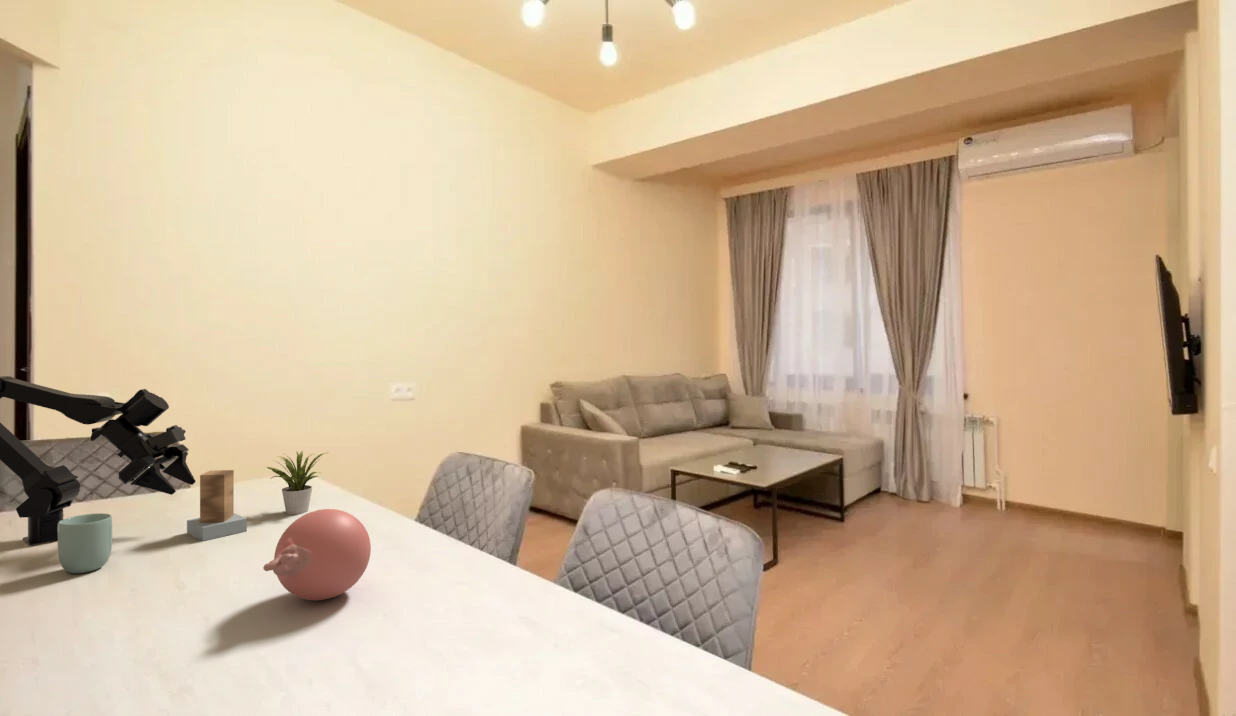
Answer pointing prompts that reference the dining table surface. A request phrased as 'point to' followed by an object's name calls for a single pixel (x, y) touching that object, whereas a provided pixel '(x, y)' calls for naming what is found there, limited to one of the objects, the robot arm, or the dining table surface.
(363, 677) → the dining table surface
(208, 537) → the pedestal
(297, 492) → the house plant
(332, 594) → the balloon
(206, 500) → the wooden block
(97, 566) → the cup
